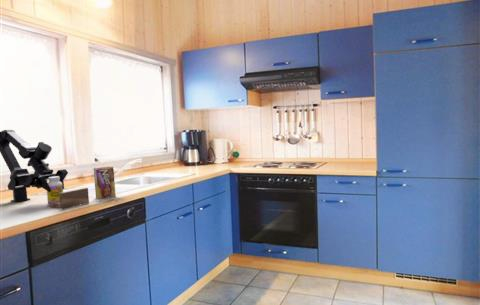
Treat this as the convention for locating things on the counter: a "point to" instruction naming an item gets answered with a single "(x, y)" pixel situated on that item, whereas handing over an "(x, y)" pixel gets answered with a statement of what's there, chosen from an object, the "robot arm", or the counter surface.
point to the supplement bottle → (54, 189)
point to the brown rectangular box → (71, 199)
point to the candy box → (104, 182)
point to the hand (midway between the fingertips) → (56, 190)
